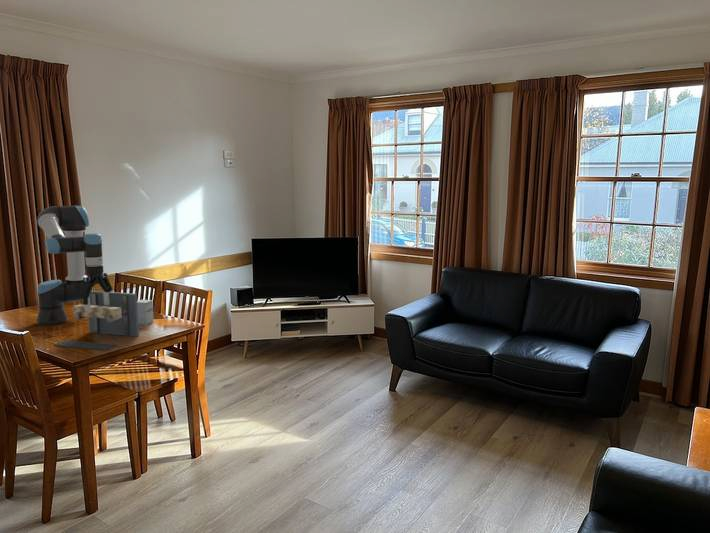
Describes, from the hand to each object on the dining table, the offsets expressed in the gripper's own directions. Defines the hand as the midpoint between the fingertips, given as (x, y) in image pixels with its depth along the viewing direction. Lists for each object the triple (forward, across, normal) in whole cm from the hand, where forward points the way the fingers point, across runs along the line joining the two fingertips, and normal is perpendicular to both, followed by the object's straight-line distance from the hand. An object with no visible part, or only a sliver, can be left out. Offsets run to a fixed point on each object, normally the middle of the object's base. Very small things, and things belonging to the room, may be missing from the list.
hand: (97, 307), depth 258 cm
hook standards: (+16, +4, 0) cm, 17 cm away
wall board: (+16, +11, 0) cm, 20 cm away
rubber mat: (+17, -10, 0) cm, 19 cm away
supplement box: (+16, +34, -2) cm, 38 cm away
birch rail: (+4, 0, 0) cm, 5 cm away
